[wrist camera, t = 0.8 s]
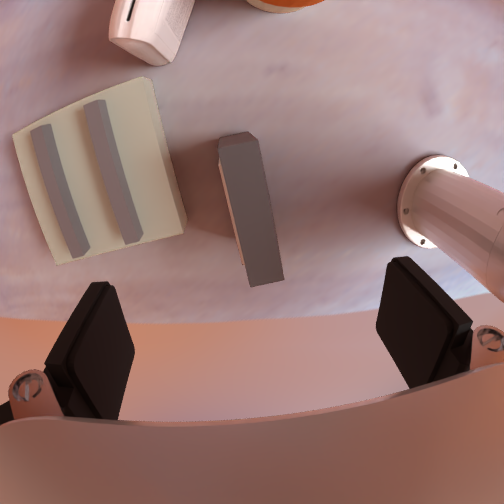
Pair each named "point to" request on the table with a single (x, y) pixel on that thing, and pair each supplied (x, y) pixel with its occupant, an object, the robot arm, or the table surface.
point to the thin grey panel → (250, 207)
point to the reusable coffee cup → (282, 5)
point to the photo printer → (150, 28)
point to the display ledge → (101, 173)
